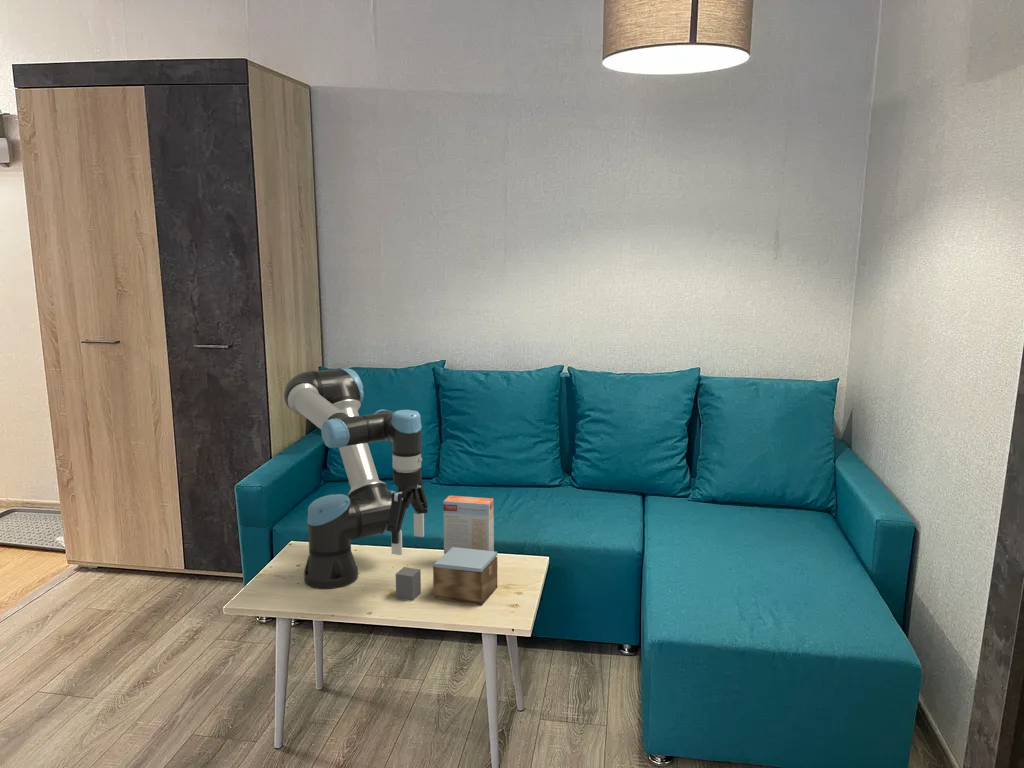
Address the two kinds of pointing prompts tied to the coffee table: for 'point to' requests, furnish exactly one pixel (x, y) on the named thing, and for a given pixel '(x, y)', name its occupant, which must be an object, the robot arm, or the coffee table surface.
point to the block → (408, 583)
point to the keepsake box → (465, 584)
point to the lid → (466, 559)
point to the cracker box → (468, 523)
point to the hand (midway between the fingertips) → (408, 544)
